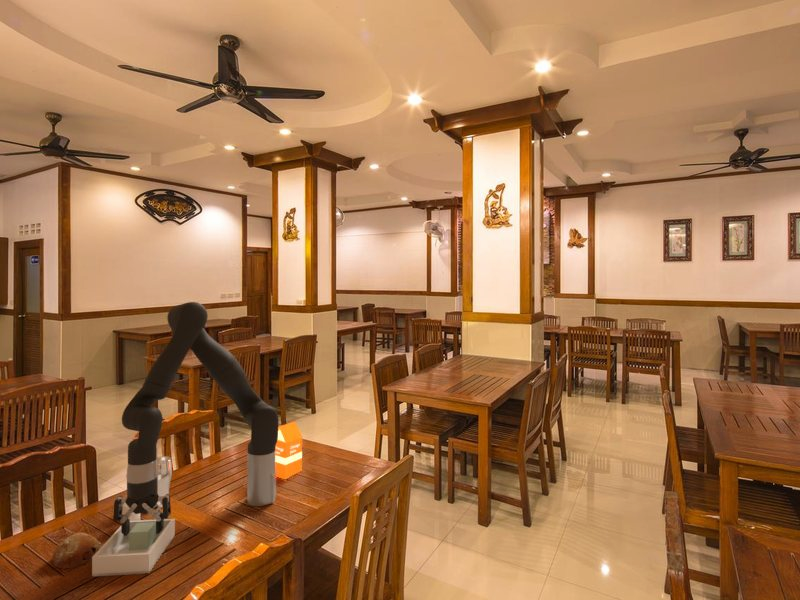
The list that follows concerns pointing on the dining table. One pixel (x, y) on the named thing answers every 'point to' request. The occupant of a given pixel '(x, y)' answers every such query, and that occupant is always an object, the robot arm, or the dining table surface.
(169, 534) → the grey tote
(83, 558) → the bread roll
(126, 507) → the white pillar candle
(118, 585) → the dining table surface
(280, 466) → the orange juice
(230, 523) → the dining table surface
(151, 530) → the sage block
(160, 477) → the beer glass
